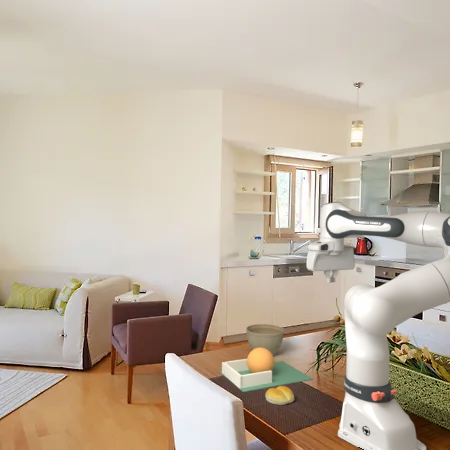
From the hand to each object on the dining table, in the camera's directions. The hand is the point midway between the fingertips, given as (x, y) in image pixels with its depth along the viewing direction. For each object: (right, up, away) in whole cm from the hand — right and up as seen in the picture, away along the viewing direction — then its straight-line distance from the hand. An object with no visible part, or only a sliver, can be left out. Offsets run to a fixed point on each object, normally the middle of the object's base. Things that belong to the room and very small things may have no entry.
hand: (330, 282), depth 153 cm
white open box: (-31, -34, -6) cm, 47 cm away
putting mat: (-25, -34, -3) cm, 42 cm away
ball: (-27, -29, -4) cm, 39 cm away
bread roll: (-22, -35, -23) cm, 47 cm away
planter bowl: (-23, -34, +21) cm, 46 cm away
